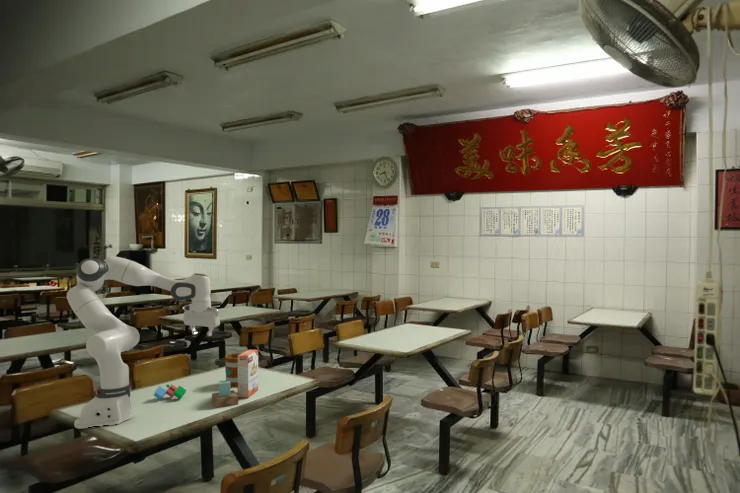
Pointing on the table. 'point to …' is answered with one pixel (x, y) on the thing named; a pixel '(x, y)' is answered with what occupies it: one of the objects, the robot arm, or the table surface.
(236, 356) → the mug
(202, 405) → the table surface
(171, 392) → the building blocks
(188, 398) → the table surface
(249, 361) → the cracker box
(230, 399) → the walnut base block
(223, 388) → the teal block
